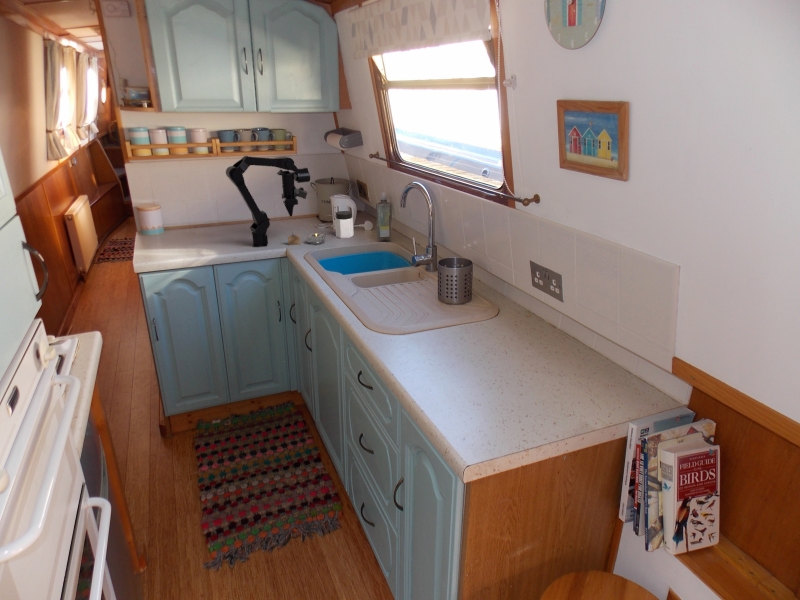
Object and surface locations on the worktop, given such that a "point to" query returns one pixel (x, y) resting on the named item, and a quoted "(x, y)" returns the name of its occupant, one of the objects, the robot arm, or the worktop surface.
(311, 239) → the square frame block
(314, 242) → the hub
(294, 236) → the stand
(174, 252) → the worktop surface
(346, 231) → the jar
